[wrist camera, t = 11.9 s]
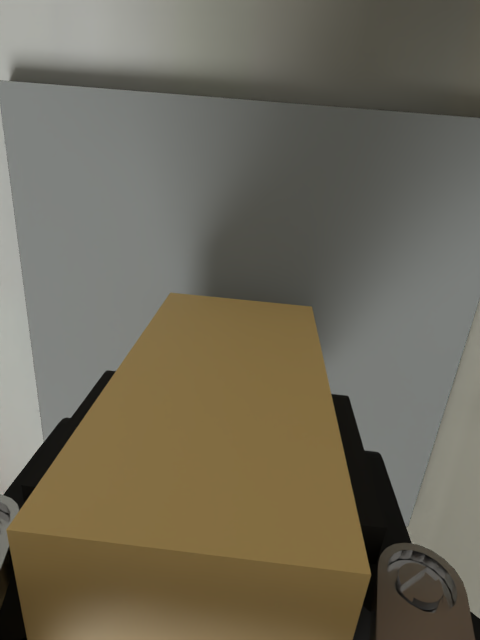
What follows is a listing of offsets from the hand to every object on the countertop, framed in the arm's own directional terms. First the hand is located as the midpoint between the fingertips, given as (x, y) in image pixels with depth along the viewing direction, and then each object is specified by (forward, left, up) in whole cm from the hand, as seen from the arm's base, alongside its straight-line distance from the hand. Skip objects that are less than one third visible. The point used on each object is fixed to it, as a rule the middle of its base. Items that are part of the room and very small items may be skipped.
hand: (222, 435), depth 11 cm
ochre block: (0, 0, -4) cm, 4 cm away
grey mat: (0, 0, -6) cm, 6 cm away
